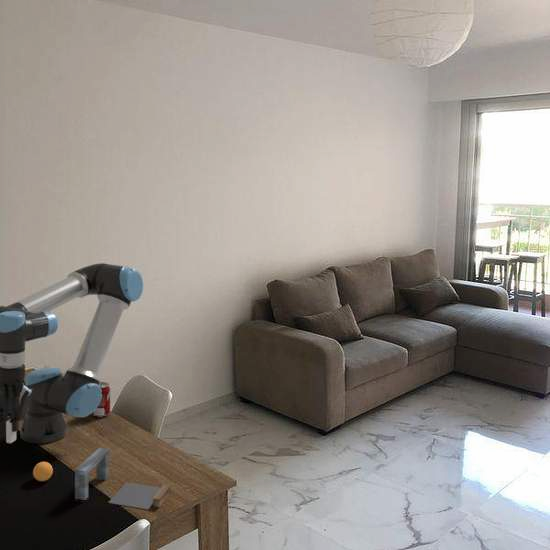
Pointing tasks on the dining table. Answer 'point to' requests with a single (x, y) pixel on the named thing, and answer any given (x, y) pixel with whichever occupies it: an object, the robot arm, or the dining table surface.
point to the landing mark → (135, 496)
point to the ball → (42, 471)
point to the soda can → (103, 401)
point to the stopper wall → (161, 496)
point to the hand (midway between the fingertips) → (11, 440)
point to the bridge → (82, 472)
